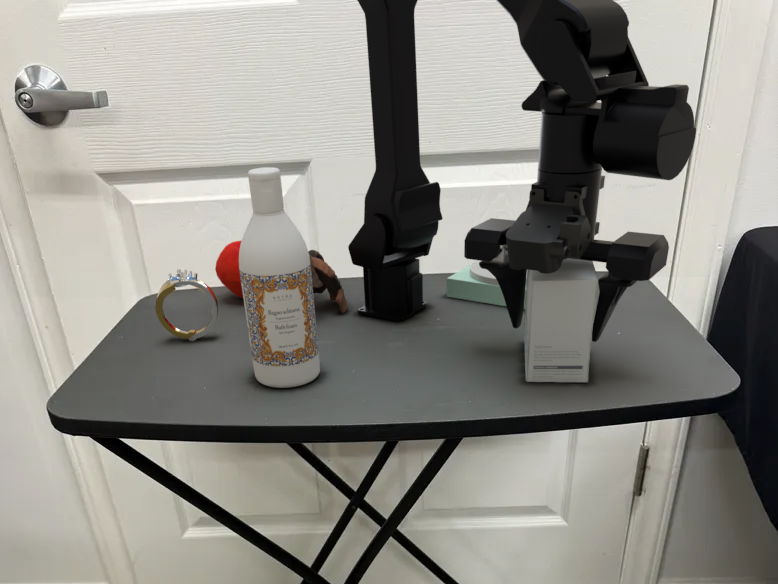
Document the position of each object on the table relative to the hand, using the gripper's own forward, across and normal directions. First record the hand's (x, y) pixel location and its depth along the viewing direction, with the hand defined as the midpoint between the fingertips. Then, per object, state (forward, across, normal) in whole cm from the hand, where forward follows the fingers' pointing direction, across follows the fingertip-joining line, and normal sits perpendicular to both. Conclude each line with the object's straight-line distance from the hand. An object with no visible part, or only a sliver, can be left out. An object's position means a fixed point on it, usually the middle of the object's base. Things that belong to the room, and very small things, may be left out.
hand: (554, 333), depth 79 cm
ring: (+3, -40, -13) cm, 42 cm away
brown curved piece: (+3, -34, +2) cm, 34 cm away
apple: (+3, -44, +2) cm, 44 cm away
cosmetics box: (+3, 0, 0) cm, 3 cm away
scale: (+3, -14, +19) cm, 24 cm away
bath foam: (+3, -23, -16) cm, 28 cm away
